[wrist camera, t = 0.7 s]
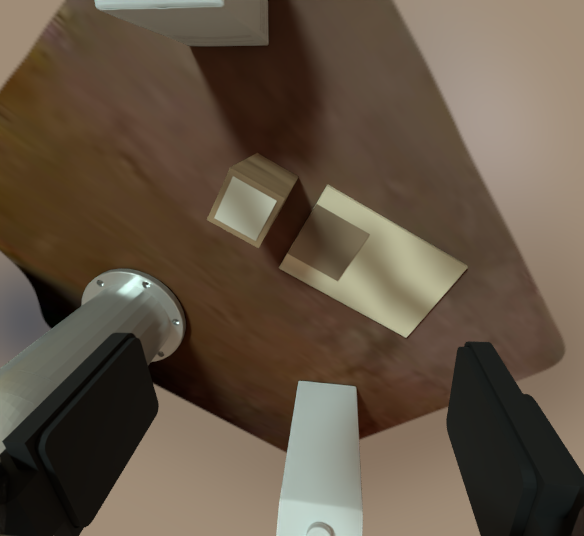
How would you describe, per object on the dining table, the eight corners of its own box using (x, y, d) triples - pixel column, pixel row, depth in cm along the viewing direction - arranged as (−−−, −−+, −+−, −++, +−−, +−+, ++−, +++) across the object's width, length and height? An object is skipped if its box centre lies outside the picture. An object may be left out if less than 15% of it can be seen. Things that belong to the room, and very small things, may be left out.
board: (405, 334, 40) (406, 338, 39) (279, 266, 38) (278, 268, 37) (466, 264, 35) (468, 267, 35) (327, 184, 34) (327, 185, 33)
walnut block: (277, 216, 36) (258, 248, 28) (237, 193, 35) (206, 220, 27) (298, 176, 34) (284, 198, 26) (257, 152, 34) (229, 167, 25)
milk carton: (351, 427, 46) (357, 615, 29) (297, 421, 47) (272, 601, 30) (356, 385, 43) (365, 567, 26) (298, 379, 44) (271, 552, 27)
